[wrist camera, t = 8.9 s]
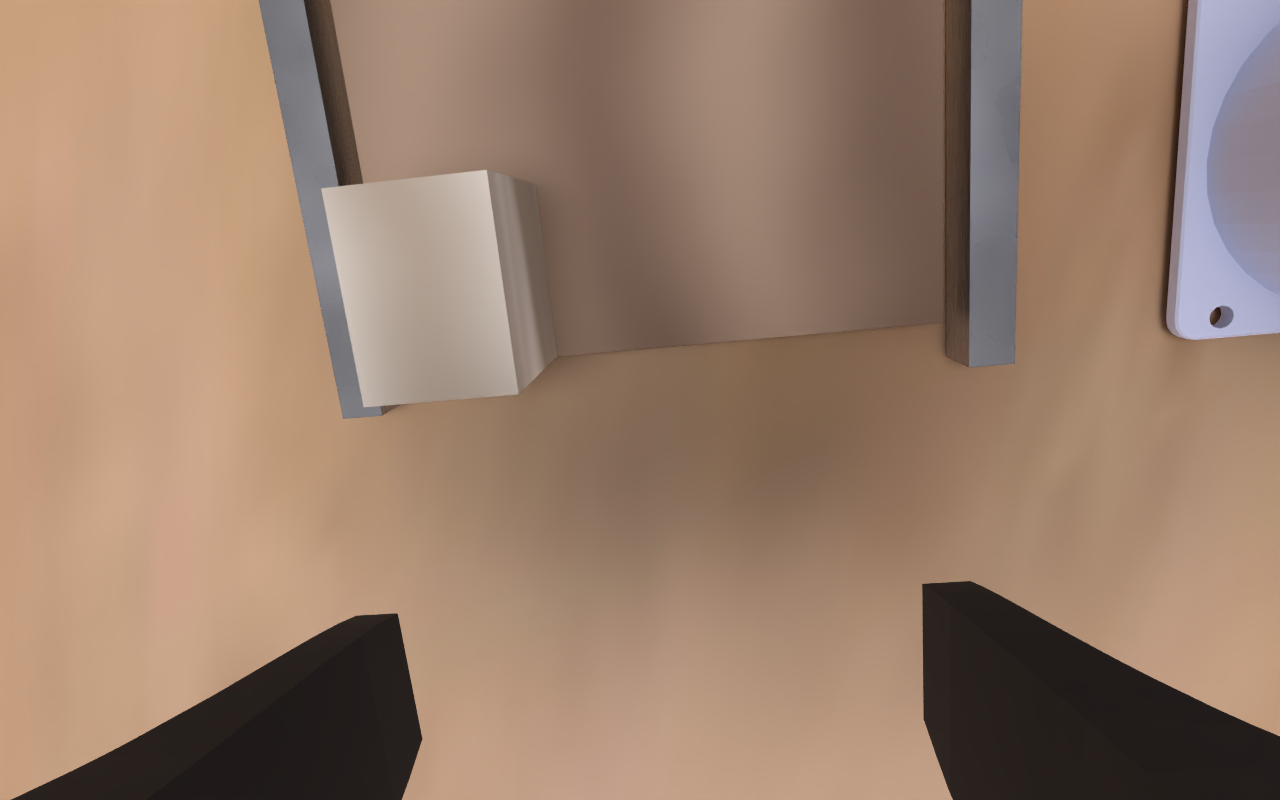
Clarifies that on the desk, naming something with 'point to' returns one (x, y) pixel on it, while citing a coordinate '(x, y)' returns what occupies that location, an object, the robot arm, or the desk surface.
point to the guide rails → (974, 170)
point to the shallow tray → (630, 180)
